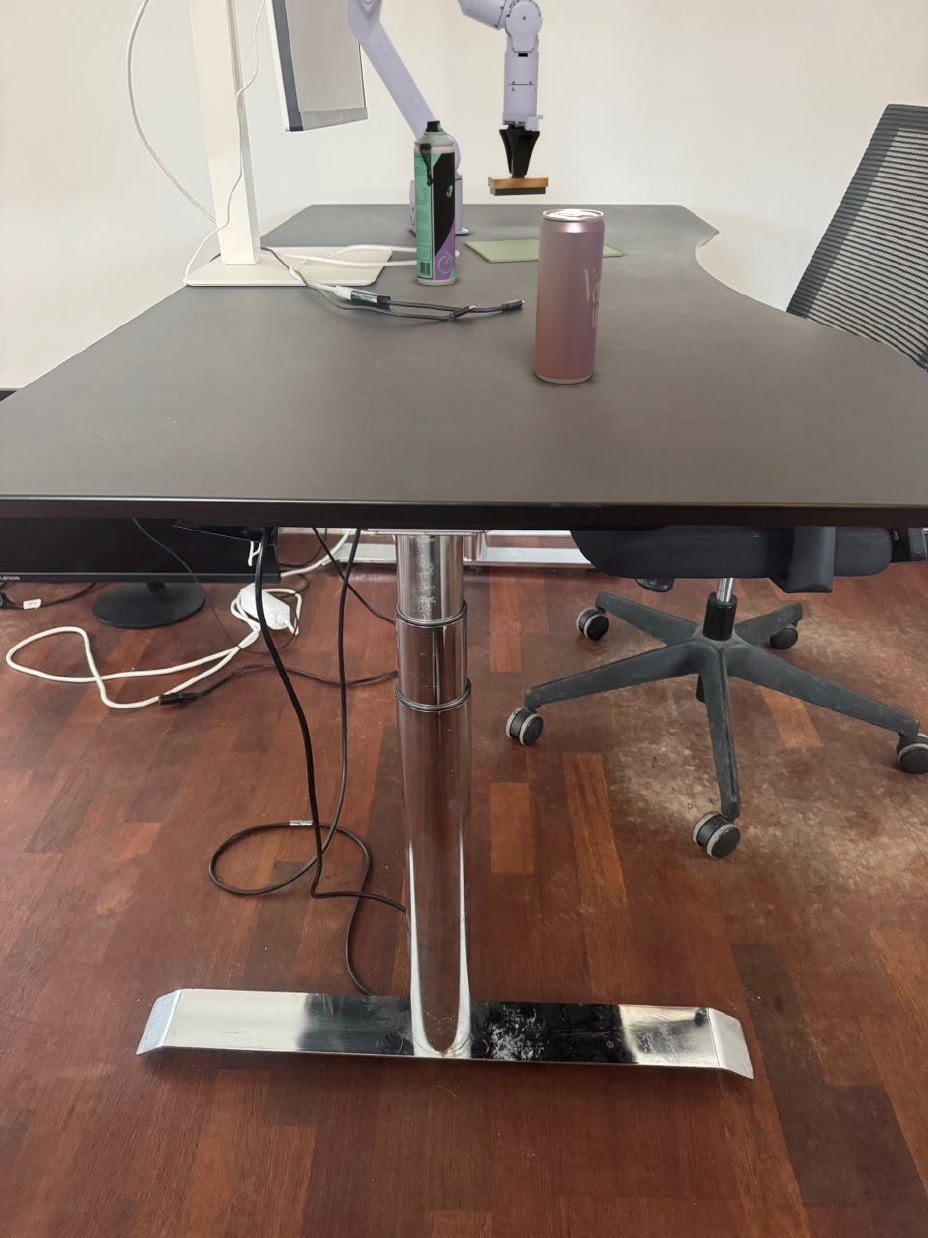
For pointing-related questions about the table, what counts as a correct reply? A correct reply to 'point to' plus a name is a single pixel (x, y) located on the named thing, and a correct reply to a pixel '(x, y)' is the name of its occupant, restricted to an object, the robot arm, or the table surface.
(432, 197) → the spray can
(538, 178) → the brush
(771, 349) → the table surface
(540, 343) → the beverage can
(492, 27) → the robot arm
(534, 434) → the table surface
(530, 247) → the mat
